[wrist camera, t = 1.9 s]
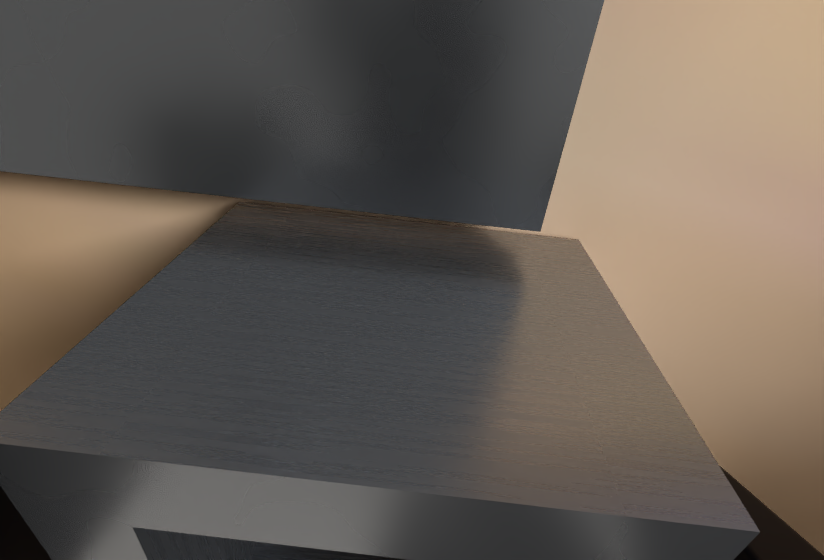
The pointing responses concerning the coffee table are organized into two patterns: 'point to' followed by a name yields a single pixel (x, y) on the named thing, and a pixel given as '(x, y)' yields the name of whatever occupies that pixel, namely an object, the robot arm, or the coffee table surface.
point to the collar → (366, 408)
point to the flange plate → (301, 99)
